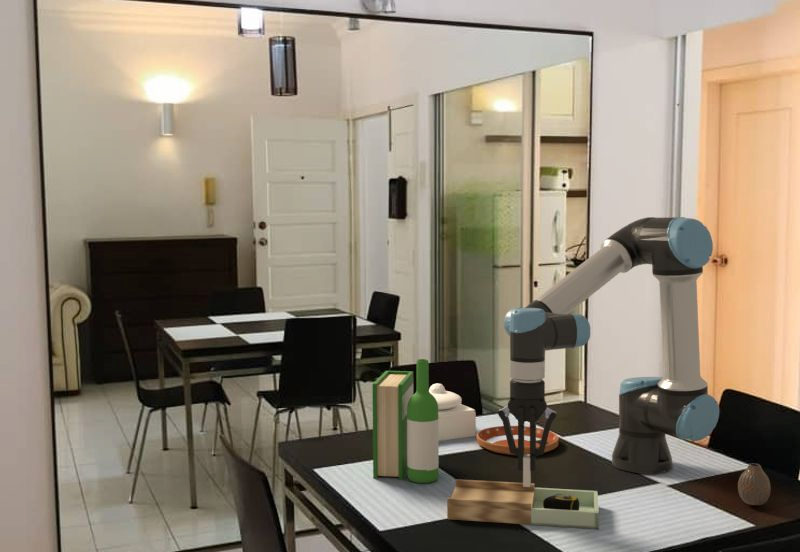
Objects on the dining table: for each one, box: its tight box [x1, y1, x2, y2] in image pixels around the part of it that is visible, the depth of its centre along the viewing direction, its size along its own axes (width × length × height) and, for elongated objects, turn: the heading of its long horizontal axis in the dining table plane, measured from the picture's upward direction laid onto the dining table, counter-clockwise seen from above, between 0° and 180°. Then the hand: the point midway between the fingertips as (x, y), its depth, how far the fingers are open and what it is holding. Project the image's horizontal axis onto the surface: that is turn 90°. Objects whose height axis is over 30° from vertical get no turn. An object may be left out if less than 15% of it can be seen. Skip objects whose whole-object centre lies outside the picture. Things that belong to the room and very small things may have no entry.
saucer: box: [476, 425, 559, 456], centre depth 248 cm, size 23×23×4 cm
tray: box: [531, 487, 600, 530], centre depth 193 cm, size 14×15×4 cm
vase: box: [737, 462, 771, 506], centre depth 201 cm, size 7×7×9 cm
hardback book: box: [372, 370, 414, 481], centre depth 227 cm, size 18×7×24 cm, turn 170°
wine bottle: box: [406, 358, 440, 484], centre depth 218 cm, size 8×8×30 cm
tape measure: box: [543, 494, 579, 511], centre depth 192 cm, size 7×7×4 cm
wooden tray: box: [446, 478, 535, 526], centre depth 196 cm, size 18×14×4 cm
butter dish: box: [429, 383, 477, 442], centre depth 261 cm, size 18×18×16 cm
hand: (526, 484), depth 194 cm, fingers closed
